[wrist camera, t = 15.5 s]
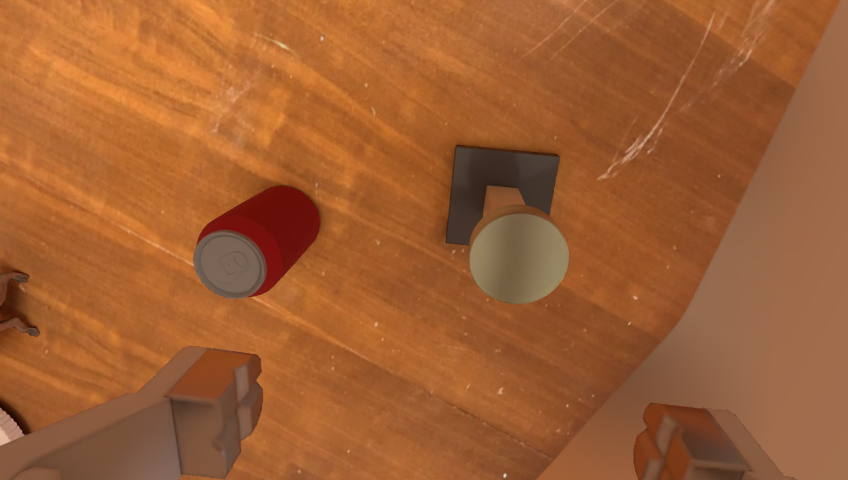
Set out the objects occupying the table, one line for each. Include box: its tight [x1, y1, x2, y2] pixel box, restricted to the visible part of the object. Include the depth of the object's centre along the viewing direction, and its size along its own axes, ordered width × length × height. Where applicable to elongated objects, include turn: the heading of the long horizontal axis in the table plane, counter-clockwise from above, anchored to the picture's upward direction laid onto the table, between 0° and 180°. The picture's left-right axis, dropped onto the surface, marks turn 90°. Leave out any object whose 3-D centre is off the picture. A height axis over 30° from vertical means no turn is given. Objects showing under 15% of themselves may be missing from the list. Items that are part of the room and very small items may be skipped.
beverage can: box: [193, 186, 320, 299], centre depth 39 cm, size 7×7×12 cm
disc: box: [469, 204, 569, 304], centre depth 28 cm, size 6×6×2 cm
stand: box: [446, 145, 560, 245], centre depth 36 cm, size 9×9×13 cm
